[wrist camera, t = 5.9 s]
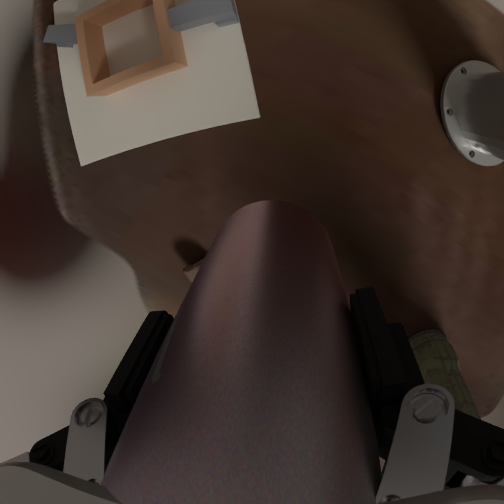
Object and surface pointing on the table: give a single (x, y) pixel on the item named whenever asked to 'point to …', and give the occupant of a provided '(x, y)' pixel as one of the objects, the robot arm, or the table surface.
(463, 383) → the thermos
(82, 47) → the white board with box
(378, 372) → the robot arm
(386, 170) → the table surface
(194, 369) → the beverage can
